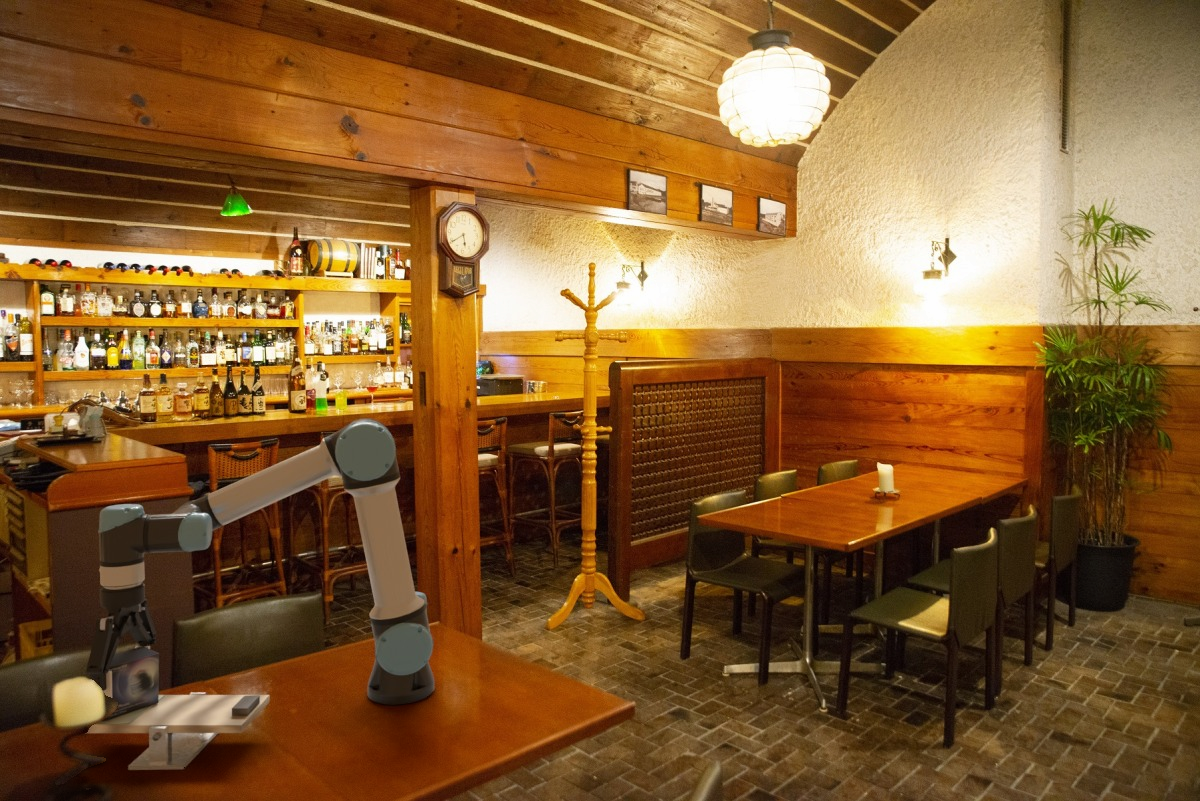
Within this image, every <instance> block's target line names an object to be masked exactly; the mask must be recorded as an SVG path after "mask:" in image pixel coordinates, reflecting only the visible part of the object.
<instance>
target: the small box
mask: <svg viewBox="0 0 1200 801" xmlns="http://www.w3.org/2000/svg"><path fill="white" fill-rule="evenodd" d="M159 664H160V652H158V651H155V650H153V649H151V648H150V649H148V648H146V647H144V646H142V647H139V648H135V647H134V648H132V649H129V650H125V651H121V652H117V653H115V655H114V657H113V660H112V663H111V666H110V668H109V671H112V698H113V699H115V700H116V701H117V702H118V706H117V709H116V710H115V711H114V712H113V713H112V714H111V715H110V716H108V717H107V718H105V719H104V720H103V721H106V720H109V719H112V718H115V717H118V716H121V715H124V714H127V713H130V712H133V711H136V710H139V709H142V708H145V707H148V706H151V705H154V704H157V703H159V700H158V695H160V694H159V691H160V690H159V688H160V687H159V681H160V679H159V678H160V675H159V674H160V673H159V672H160V670H159V669H160V668H159V667H160V665H159ZM88 675H89V677H88V680H89V679H92V680H94V681H95V675H94V674H88Z"/></svg>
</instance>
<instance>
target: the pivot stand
mask: <svg viewBox="0 0 1200 801" xmlns="http://www.w3.org/2000/svg"><path fill="white" fill-rule="evenodd" d="M188 695H207V692H203V691H202V692H201V691H200V692H199V691H198V692H193V691H191V692H190V693H189V694H188ZM218 734H219V733H168V727H167V726H157V727H150V728H149V733H148V747H147V748H146V749H145V750H144V751H143V752H142V753H141V754H140V755H139V756H137V757H136V758H135V759H134V760H133V761H132V762H131V763H129V764H128V765H127V767H128V768H127V770H128V771H143V770H144V771H149V770H150V771H153V770H154V771H155V770H156V771H158V770H161V771H162V770H165V771H166V770H185V768H186V767H187V766H188V765H189V764H190V763H191V762H192V761H193V760H194V759H195V758H196V757H197V755H199V754H200V753H201V751H203V749H204V748H205V747H206V746H207V745H208V744H209V743H210V742H211V741H212V740H213V739H214V738H216V736H217V735H218ZM184 767H185V768H184Z"/></svg>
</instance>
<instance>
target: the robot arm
mask: <svg viewBox="0 0 1200 801" xmlns="http://www.w3.org/2000/svg"><path fill="white" fill-rule="evenodd" d="M396 448H397V447H396V441H395V439H394V437H393V435H392V433H391V432H390V429H389V428H388V427H387V426H386V425H385V424H384V423H382V422H381V421H379V420H377V419H374V418H368V417H367V418H366V417H365V418H359V419H355V420H354V421H353V420H352V422H350V423H348V424H347V425H345V426H344V427H342V428H341V429H339V430H337V431H336V432H334V433H332V434H329V435H328V436H325V437H323V438H322V440H321V442H320V444H319V445H316V446H315V447H312V448H309V449H307V450H305V451H303V452H301V453H298V454H297V455H294V456H292V457H289V458H287V459H285V460H282V461H280V462H278V463H275V464H273V465H272V466H269V467H266V468H264V469H262V470H260V471H257V472H256V473H253V474H251V475H249V476H246V477H244V478H242V479H240V480H237V481H235V482H232V483H231V484H228V485H226V486H224V487H222V488H219V489H217V490H215V491H213V492H210V493H208V494H206V495H204V496H202V497H199V498H197V499H195V500H190V501H188V502H185V503H183V504H182V505H180V506H179V508H177V509H175V511H174V512H172V513H161V514H146V513H145V510H144V507H143V505H141V504H137V503H123V504H121V503H120V504H114V505H109V506H106V507H104V508H102V509H101V510H100V512H99V519H98V520H99V522H98V524H99V526H98V530H97V533H98V542H99V543H98V546H99V547H98V548H99V569H98V572H99V577H100V578H99V583H100V584H99V585H101V586H102V587H101V588H100V589H99V603H100V606H101V608H102V609H106V611H107V613H106V617H105V618H103V617H102V618H101V617H100V618H99V617H98V618H96V621H95V633H94V636H93V641H92V645H91V649H90V653H89V657H88V661H87V666H86V670H85V673H86V674H88V675H89V674H94V675H95V682H96V683H97V684H98V685H99V686H100V687H101V688H102V690H103V692H104V693H105V695H106V696H108V697H111V698H112V671H109V668H110V666H111V663H112V660H113V657H114V655H115V654H116V651H117V649H118V646H119V643H120V640H122V639H123V638H124V637H125V634H126V633H127V632H129V634H130V635H131V637H132V638H133V640H134V641H135V643H136V646H135V647H134V649H135V648H139V647H142V646H144V647H146V648H148V649H151V646H153V645H156V642H157V639H156V638H157V636H158V635H157V631H156V628H155V625H154V622H153V619H152V616H151V613H150V610H149V600H148V599H146V584H145V583H144V581H145V579H146V577H145V576H146V574H145V569H146V568H145V554H152V553H153V554H155V553H176V552H177V553H178V552H188V553H191V552H195V551H203V550H207V549H208V548H209V547H210V546H211V543H212V539H213V532H214V531H215V530H217V529H220V528H222V527H223V526H225V525H227V524H230V523H232V522H235V521H237V520H239V519H242V518H243V517H246V516H248V515H251V514H252V513H254V512H256V511H259V510H260V509H264V508H266V507H268V506H270V505H273V504H274V503H276V502H279V501H281V500H283V499H286V498H287V497H289V496H292V495H294V494H296V493H299V492H301V491H303V490H306V489H308V488H310V487H312V486H314V485H317V484H318V483H321V482H323V481H325V480H327V479H329V478H332V477H334V476H336V477H339V478H341V480H342V484H343V490H344V491H345V492H346V493H347V494H350V495H351V496H352V497H353V501H354V505H355V506H354V507H355V511H356V516H357V520H358V526H359V532H360V536H361V537H360V538H361V540H362V546H363V551H364V556H365V561H366V565H367V566H366V567H367V571H368V577H369V580H370V581H369V582H370V586H371V592H372V595H373V596H372V597H373V601H374V606H373V608H372V609H371V610H370V612H369V614H368V615H369V618H370V625H371V630H372V635H373V641H374V663H373V666H372V670H371V672H370V675H369V679H368V682H367V691H366V692H367V698H368V699H369V700H371V701H372V702H374V703H376V704H381V705H382V704H383V705H393V706H394V705H395V706H396V705H397V706H398V705H406V704H411V703H412V704H413V703H415V702H419V701H422V700H424V699H427V698H428V697H430V696H431V695H432V694H433V693H434V692H433V691H435V677H434V674H433V671H432V667H431V666H430V662H429V660H430V659H431V656H432V653H433V649H434V637H433V636H432V634H431V629H430V628H431V627H430V624H429V619H428V613H427V612H428V611H427V608H428V607H427V606H428V602H427V601H428V600H427V595H426V594H425V593H424V592H421V591H415V590H416V589H415V585H414V580H413V575H412V574H413V573H412V571H411V570H412V569H411V563H410V558H409V554H408V549H407V543H406V538H405V534H404V533H405V532H404V527H403V523H402V517H401V513H400V508H399V503H398V502H399V501H398V498H397V492H396V486H397V484H398V483H399V481H400V480H401V473H400V469H399V468H400V467H399V464H398V458H397V449H396ZM432 692H433V693H432ZM431 693H432V694H431ZM430 694H431V695H430ZM429 695H430V696H429ZM427 696H428V697H427Z"/></svg>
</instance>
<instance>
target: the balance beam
mask: <svg viewBox="0 0 1200 801" xmlns="http://www.w3.org/2000/svg"><path fill="white" fill-rule="evenodd" d="M270 697H271V696H270V694H206V695H189V694H158V700H159V703H157V704H154V705H151V706H148V707H145V708H142V709H139V710H136V711H133V712H130V713H127V714H124V715H121V716H118V717H115V718H112V719H109V720H106V721H103V720H102V721H100V722H98V723H96V724H94V725H92V726H91V727H90V728H89V730H88V732H87V733H86V734H149V728H150V727H157V726H167V727H168V733H218V734H242V733H243V732H244V731H245V730H246V729H247V728H248V727H249V725H251V724H252V722H253V721H254V720H255V719H256V718H257V716H259V714H261V713H262V711H263V710H264V709H265V708H266V707H267V706H268V705H269V703H271V702H270V701H271V698H270Z"/></svg>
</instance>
